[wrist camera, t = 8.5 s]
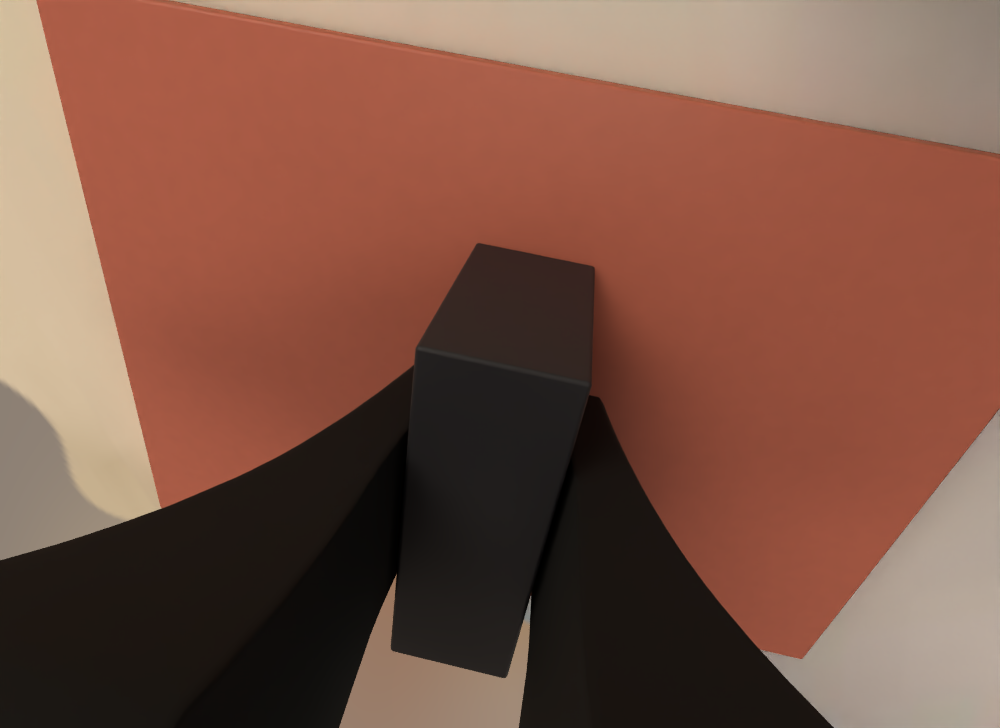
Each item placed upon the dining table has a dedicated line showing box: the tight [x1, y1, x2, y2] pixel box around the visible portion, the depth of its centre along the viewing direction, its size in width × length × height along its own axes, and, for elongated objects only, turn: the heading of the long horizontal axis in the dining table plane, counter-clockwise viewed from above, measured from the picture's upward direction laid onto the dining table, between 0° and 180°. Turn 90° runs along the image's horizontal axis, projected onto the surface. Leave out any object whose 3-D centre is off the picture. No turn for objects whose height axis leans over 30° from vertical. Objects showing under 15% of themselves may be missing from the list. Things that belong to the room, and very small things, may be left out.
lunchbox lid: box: [36, 0, 1000, 678], centre depth 9 cm, size 16×11×4 cm
